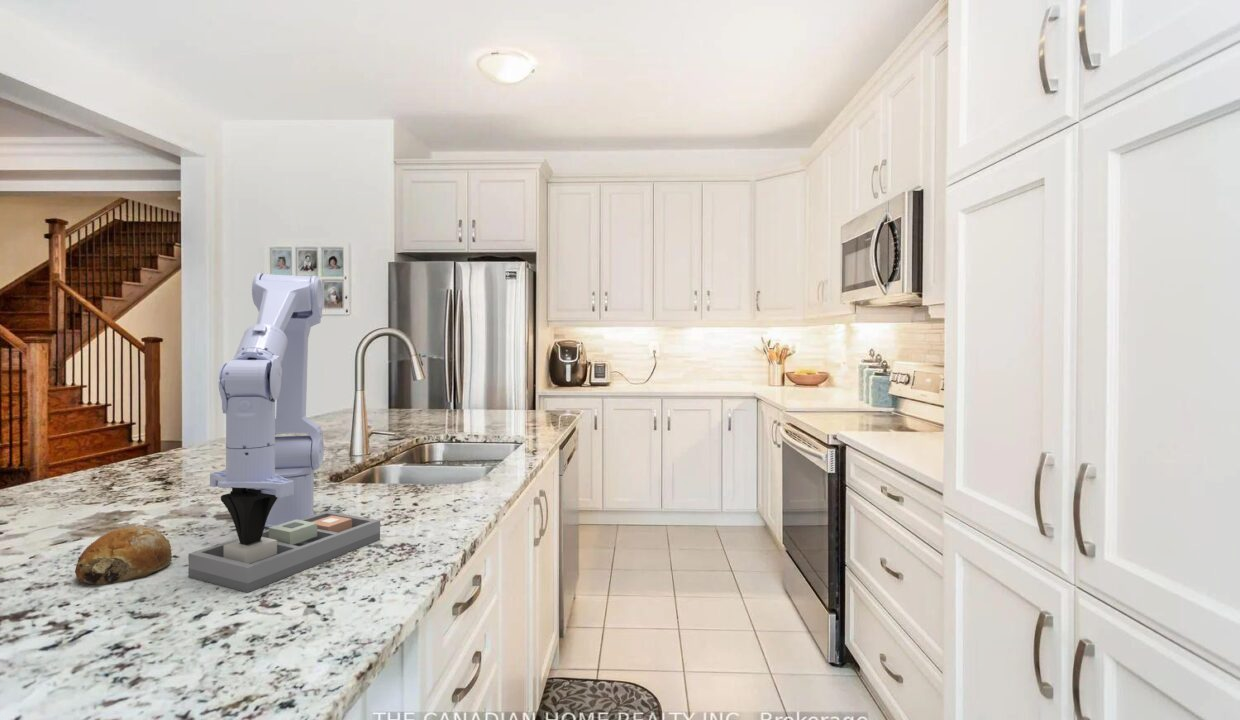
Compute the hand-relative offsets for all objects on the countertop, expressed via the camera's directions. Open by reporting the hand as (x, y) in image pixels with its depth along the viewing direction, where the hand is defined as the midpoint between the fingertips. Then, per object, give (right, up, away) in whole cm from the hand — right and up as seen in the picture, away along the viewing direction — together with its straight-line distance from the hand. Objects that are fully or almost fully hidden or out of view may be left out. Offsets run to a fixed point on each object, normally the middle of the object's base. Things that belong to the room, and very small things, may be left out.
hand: (250, 542), depth 78 cm
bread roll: (-17, -4, 0) cm, 18 cm away
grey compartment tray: (+2, -4, +6) cm, 8 cm away
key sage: (+2, -1, +6) cm, 7 cm away
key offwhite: (0, -2, 0) cm, 2 cm away
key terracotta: (+5, -3, +12) cm, 13 cm away
